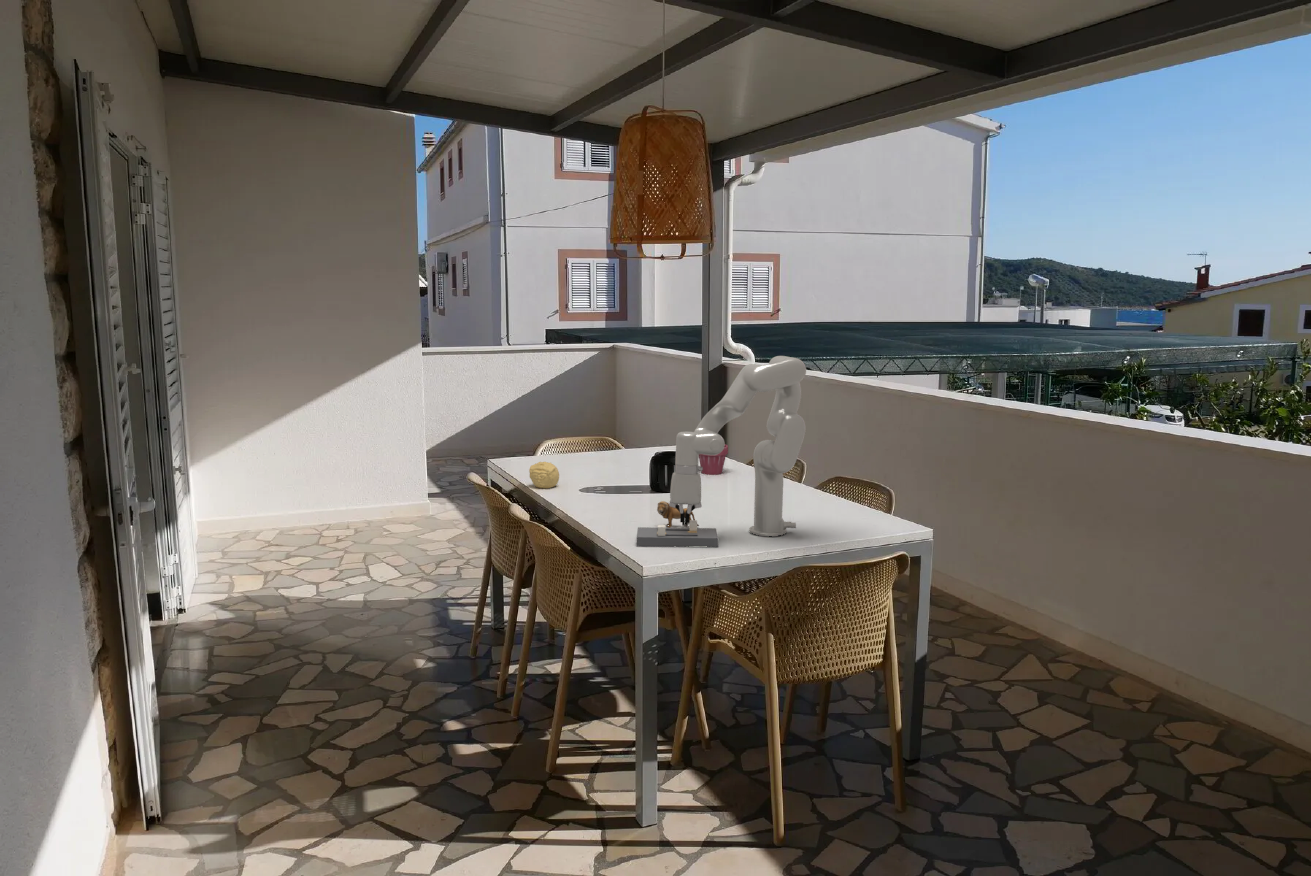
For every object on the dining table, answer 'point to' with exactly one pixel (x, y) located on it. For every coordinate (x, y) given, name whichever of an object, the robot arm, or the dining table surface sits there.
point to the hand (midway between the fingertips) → (684, 524)
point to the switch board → (677, 537)
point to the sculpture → (544, 475)
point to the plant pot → (713, 462)
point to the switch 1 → (661, 530)
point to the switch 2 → (692, 525)
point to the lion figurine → (671, 512)
